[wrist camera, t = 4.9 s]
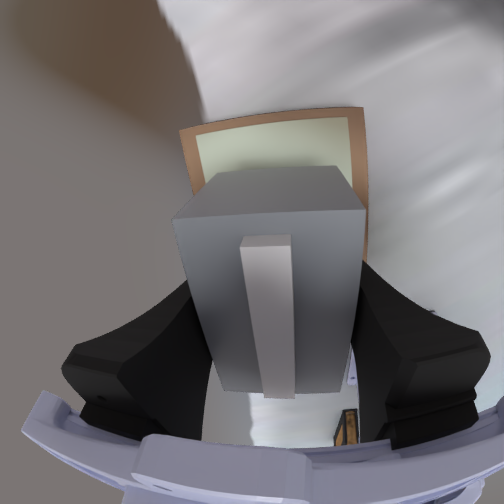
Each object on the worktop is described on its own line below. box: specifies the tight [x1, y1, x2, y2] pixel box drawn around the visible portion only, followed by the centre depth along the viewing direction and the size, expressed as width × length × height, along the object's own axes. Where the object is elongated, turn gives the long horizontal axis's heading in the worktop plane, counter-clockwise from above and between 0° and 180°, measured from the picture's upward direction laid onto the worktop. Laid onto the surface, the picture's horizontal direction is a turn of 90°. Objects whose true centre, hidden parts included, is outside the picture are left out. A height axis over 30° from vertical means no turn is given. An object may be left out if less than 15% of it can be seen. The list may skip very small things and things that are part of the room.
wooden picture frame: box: [179, 107, 368, 262], centre depth 17 cm, size 13×10×2 cm
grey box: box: [171, 165, 366, 399], centre depth 11 cm, size 5×8×6 cm, turn 7°
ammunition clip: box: [334, 409, 359, 446], centre depth 27 cm, size 11×2×12 cm, turn 7°
